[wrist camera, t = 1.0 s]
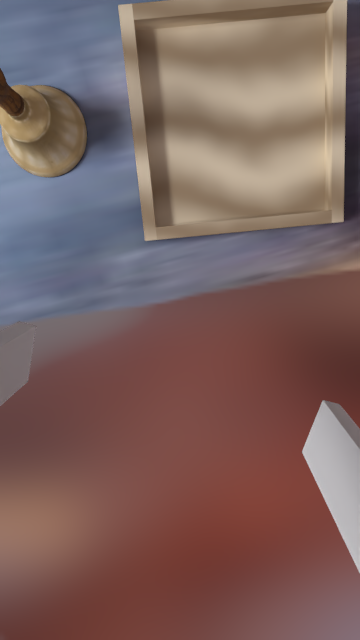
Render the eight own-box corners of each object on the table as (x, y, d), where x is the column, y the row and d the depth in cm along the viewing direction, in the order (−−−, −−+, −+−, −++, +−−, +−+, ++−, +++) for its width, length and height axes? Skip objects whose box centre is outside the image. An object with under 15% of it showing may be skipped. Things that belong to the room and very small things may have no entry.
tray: (122, 22, 32) (118, 5, 30) (334, 2, 32) (347, -17, 30) (146, 240, 37) (145, 240, 34) (332, 222, 37) (343, 221, 34)
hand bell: (47, 66, 33) (-65, -91, 17) (104, 141, 34) (49, 60, 19) (-16, 124, 34) (-174, 26, 18) (43, 194, 35) (-56, 160, 20)
